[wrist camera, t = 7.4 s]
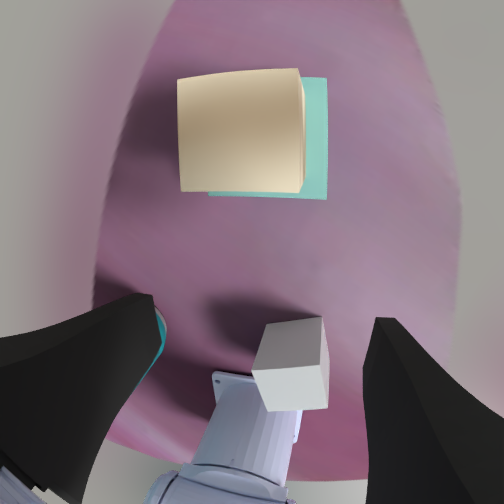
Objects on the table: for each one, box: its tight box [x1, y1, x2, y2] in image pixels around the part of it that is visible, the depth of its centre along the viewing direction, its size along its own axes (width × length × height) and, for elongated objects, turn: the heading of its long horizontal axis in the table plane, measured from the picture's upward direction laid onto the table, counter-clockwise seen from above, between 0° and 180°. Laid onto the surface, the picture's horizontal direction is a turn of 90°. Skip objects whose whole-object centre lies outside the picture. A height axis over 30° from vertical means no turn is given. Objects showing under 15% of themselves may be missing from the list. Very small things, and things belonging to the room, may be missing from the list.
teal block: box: [208, 77, 328, 200], centre depth 14 cm, size 6×6×3 cm
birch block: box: [177, 68, 306, 193], centre depth 11 cm, size 4×4×5 cm
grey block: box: [251, 317, 330, 412], centre depth 18 cm, size 4×4×5 cm
